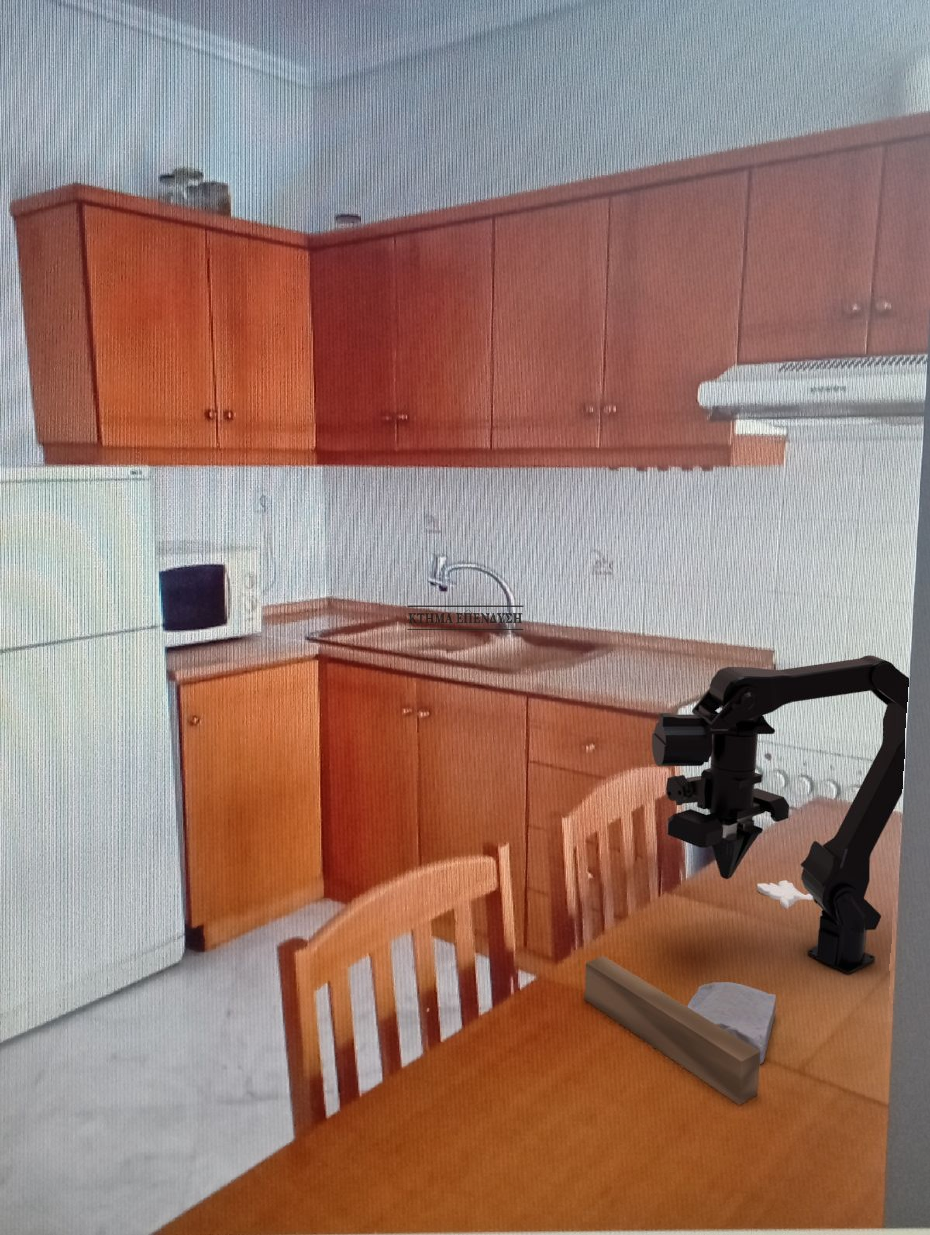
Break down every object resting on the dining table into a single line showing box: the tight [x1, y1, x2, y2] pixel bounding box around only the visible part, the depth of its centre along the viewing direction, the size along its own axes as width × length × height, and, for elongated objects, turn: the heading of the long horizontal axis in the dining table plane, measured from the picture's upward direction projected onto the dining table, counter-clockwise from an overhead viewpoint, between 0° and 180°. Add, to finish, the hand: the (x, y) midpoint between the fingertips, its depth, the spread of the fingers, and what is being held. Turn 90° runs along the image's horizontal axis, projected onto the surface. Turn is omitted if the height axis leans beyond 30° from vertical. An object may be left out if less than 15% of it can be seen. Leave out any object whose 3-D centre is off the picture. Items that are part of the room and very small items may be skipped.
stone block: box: [687, 981, 777, 1066], centre depth 112 cm, size 12×5×10 cm
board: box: [584, 955, 761, 1106], centre depth 109 cm, size 3×24×5 cm, turn 35°
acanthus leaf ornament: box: [756, 880, 814, 910], centre depth 148 cm, size 8×7×2 cm
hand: (725, 877), depth 126 cm, fingers closed
